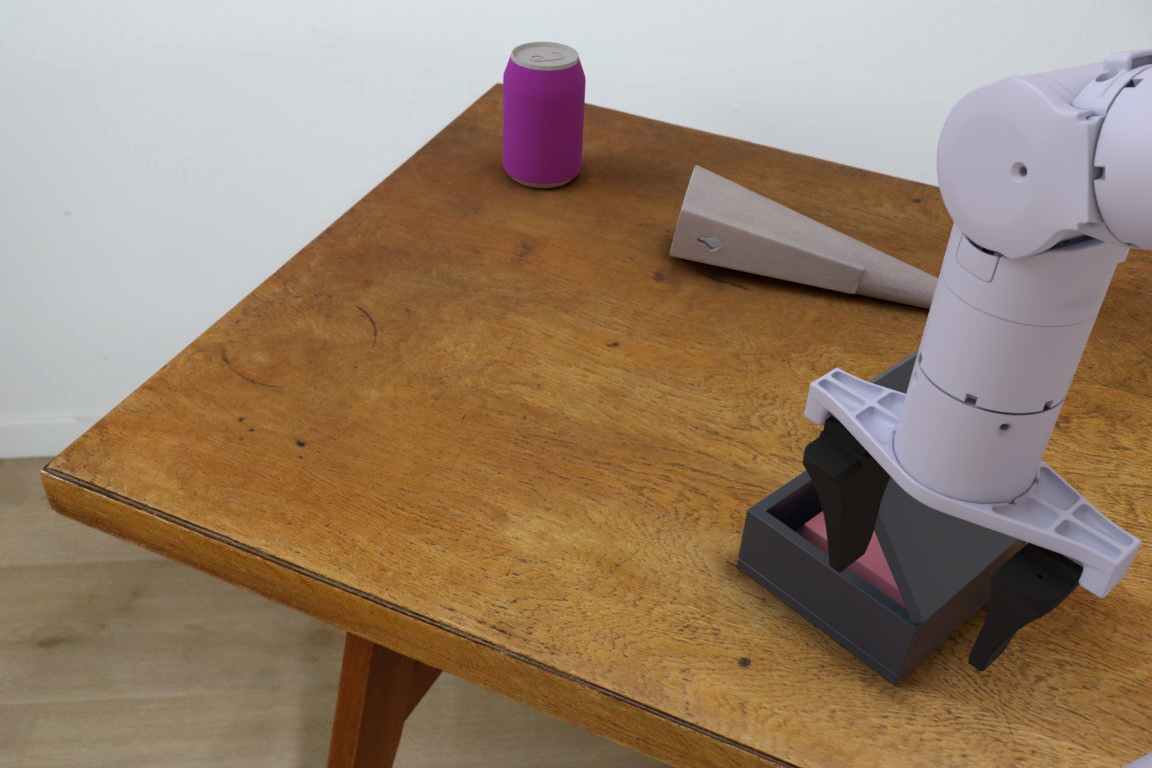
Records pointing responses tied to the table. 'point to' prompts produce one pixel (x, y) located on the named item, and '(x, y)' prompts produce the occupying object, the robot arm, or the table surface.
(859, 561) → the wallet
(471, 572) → the table surface
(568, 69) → the beverage can
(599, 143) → the table surface
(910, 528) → the lid
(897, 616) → the box
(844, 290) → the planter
